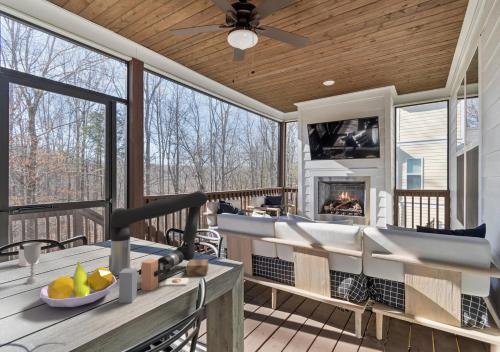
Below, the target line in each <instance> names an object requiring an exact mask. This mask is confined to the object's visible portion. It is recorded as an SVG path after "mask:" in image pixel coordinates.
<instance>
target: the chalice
mask: <svg viewBox="0 0 500 352" xmlns="http://www.w3.org/2000/svg"><path fill="white" fill-rule="evenodd" d="M42 244H43V242H42V241H41V242H40V241H35V242H34V243H27V244H24V245H22V246H23V247H24V257H25V259H26V261H27V262H28V264H31V266H30V272H29V273H30V276H29V277H28V278H27V280H26V282H25V285H33V284H34V285H35V284H36V283H37V284H38V283H39V282H40V280H39V278H38V276H35V265H34V263H36V262H37V260H38V258H40V256H41V254H42V250H41V249H42Z"/></svg>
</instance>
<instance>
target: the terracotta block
mask: <svg viewBox="0 0 500 352" xmlns="http://www.w3.org/2000/svg"><path fill="white" fill-rule="evenodd" d="M140 265H141V267H140V269H141V275H140V276H141V279H140V280H141V282H140V283H141V284H140V285H141V287H140V288H141V289H140V290H144V291H150V292H151V291H153V290H154V289H156V288H158V286H159V275H158V276H156V277H154V272H155V271H157V270H158V259H154V258H153V259H152V258H148V259H146V260H143V261H142V262H141V264H140Z"/></svg>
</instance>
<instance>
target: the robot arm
mask: <svg viewBox="0 0 500 352" xmlns="http://www.w3.org/2000/svg"><path fill="white" fill-rule="evenodd" d="M208 200H209V198H208V194H207V193H206V192H205V191H203V190H195V191H194V192H191V193H188V194H185V195H180V196H179V195H178V196H172V197H166V198H162V199H157V200H153V201H151V202H148V203H145V204H143V205H140V206H137V207H132V208H124V207H118V208H116V209H114V210H113V211H112V212H111V214H110V254H109V256H108V270H109V271H110V272H111V273H112V275H114V276H119V273H120V272H121V271H122V270H123V269H126V268H131V225H133V224H136V223H137V222H141V221H145V220H146V221H147V220H152V219H156V218H160V217H164V216H170V215H171V214H175V213H177V212H179V211H183V210H184V209H188V212H187V217H186V221H185V226H184V230H183V233H182V242H184V243H185V244H187V246H182V245H181V246H177V247H176V248H175V250H174V251H173V252H170V253H168V254H165V255H163V256H161V257H159V258H158V259H157V260H158V270H157V271H155V272H154V277H156V276H158V277H159V276H160V275H163V274H164V275H168V274H169V273H171V272H172V271H174V268H176V267H177V266H178V265H180V264H182V263H183V262H184V261H186V262H189V260H194V258H195V253H196V251H195V245H196V242H195V240H196V236H197V231H198V226H199V225H198V222H199V214H200V211H201V209H202V208H201V207H203V206H205V205H206V203H207V202H208ZM138 275H140V276H141V268H140V269H138Z"/></svg>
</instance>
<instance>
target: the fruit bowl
mask: <svg viewBox="0 0 500 352" xmlns="http://www.w3.org/2000/svg"><path fill="white" fill-rule="evenodd" d="M117 282H118V281H117V279H116V277H115V275H112V273H111V272H110V271H109V269H107V268H106V267H105V266H102V267H96V268H95V269H94V270H93V271H92V272H91V273H86V270H84V268H83V266H82V265H81V262H80V261H78V262H77V265H76V268H75V270H74V273H73V275H72V276H69V277H68V276H58V277H57V278H55V279H54V280H53V281H51V282H50V283H48V285H46V286H44V287H42V288H41V289H40V294H39V297H40V298H41V300H43V302H44V303H46V304H47V305H49V306H50V307H51V308H52V307H53V308H58V307H59V308H77V307H80V306H83V305H86V304H90V303H94V302H95V301H98V300H99V299H101V298H102V297H105V296H107V295H108V294H111V291H112V290H113V288H114V286H115V285H116V283H117Z"/></svg>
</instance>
